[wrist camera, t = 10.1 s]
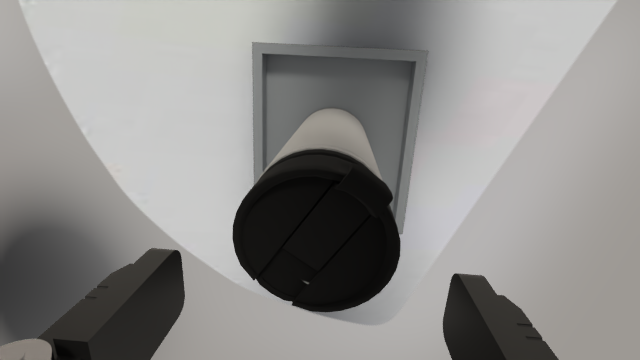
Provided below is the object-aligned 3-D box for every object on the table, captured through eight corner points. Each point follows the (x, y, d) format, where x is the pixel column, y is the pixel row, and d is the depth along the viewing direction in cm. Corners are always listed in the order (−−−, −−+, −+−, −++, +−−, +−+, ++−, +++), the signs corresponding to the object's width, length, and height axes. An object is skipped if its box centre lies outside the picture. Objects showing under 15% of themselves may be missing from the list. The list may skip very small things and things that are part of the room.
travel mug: (382, 131, 30) (451, 235, 11) (338, 187, 32) (330, 357, 13) (326, 89, 29) (295, 120, 10) (284, 148, 31) (191, 269, 12)
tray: (258, 44, 29) (252, 42, 27) (421, 52, 28) (428, 50, 26) (259, 213, 34) (254, 222, 32) (398, 223, 33) (402, 234, 31)
